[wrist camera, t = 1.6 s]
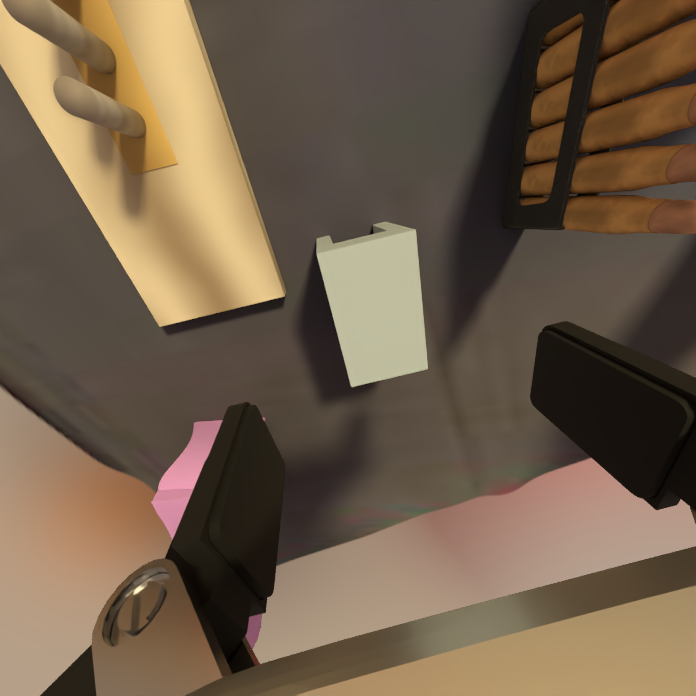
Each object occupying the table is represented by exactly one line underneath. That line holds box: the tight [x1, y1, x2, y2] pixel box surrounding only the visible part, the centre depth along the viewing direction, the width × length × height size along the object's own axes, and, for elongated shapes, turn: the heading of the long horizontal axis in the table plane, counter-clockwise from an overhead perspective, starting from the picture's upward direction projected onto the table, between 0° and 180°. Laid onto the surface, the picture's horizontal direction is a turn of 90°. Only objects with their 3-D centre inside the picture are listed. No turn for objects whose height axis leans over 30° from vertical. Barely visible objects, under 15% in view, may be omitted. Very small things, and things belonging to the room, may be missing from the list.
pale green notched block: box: [316, 222, 428, 387], centre depth 18 cm, size 5×8×6 cm, turn 12°
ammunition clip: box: [503, 0, 696, 234], centre depth 12 cm, size 11×2×12 cm, turn 8°
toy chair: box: [151, 418, 266, 649], centre depth 20 cm, size 8×9×15 cm
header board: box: [0, 0, 286, 327], centre depth 13 cm, size 9×20×5 cm, turn 12°
